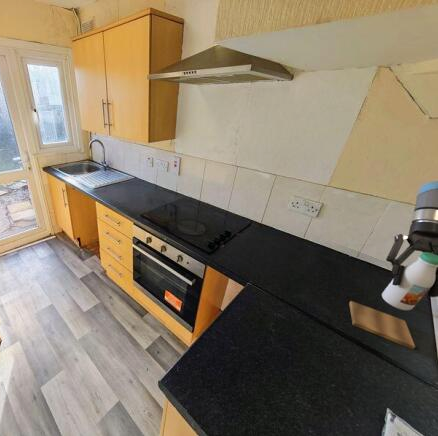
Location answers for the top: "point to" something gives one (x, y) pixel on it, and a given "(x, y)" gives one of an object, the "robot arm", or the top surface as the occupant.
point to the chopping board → (381, 324)
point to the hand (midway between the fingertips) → (414, 290)
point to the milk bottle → (413, 282)
